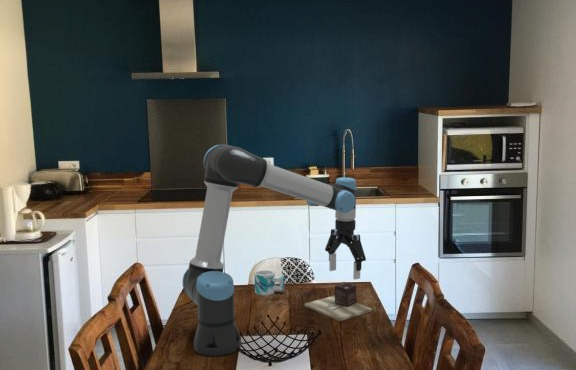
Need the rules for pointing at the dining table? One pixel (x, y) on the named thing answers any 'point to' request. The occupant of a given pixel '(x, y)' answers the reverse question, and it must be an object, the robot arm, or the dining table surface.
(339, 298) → the box
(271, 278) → the mug
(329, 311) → the board
